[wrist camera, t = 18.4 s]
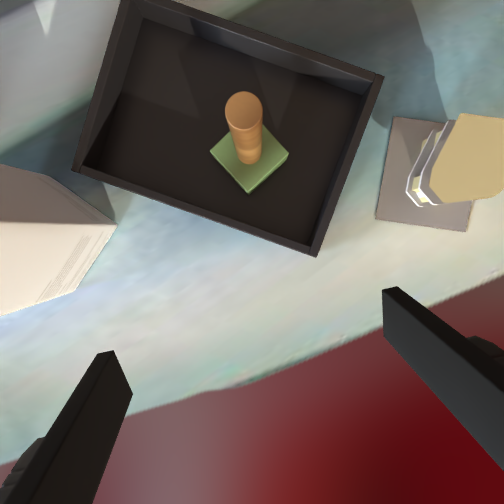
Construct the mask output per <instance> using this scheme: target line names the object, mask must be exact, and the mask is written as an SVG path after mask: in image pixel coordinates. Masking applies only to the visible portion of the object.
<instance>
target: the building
mask: <svg viewBox="0 0 504 504" xmlns="http://www.w3.org/2000/svg"><path fill="white" fill-rule="evenodd" d="M503 188H504V119H501V118H494V117H487V116H479V115H472V114H465V113H461V114H460V115H459V117H458V119H457V120H449V121H447V122H446V123H439V122H431V121H424V120H417V119H410V118H402V117H395V116H394V118H393V124H392V129H391V135H390V140H389V146H388V151H387V157H386V163H385V168H384V174H383V179H382V185H381V190H380V196H379V202H378V207H377V213H376V218H375V219H377V220H384V221H391V222H398V223H405V224H412V225H419V226H426V227H433V228H439V229H446V230H453V231H460V232H466V227H467V222H468V218H469V213H470V208H471V203H472V200H477V199H485V198H491V197H493V196H495V195H497V194H499V193H500V192H501V191H502V190H503Z"/></svg>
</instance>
